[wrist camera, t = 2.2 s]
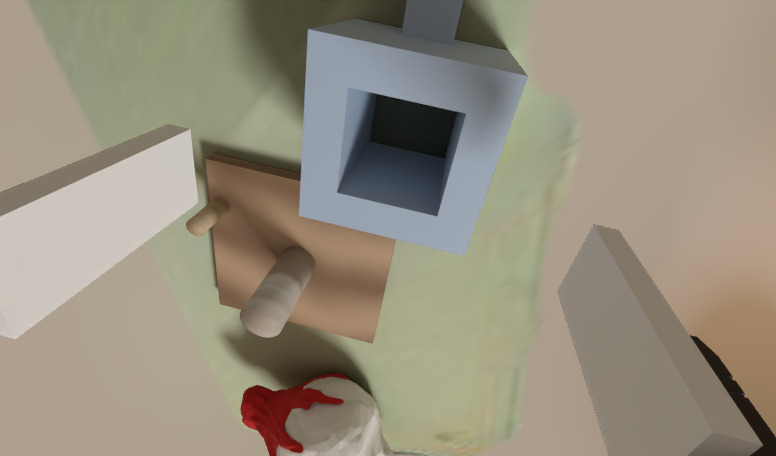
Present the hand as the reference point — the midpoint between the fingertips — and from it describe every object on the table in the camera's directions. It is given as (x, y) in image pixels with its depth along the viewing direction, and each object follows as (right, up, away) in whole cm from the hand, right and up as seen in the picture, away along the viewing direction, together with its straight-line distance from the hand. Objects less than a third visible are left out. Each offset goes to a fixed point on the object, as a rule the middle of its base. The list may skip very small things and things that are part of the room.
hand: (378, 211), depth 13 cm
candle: (-5, -16, +25) cm, 30 cm away
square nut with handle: (+2, +7, +8) cm, 11 cm away
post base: (-6, -2, +16) cm, 17 cm away
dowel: (-11, +2, +14) cm, 18 cm away
